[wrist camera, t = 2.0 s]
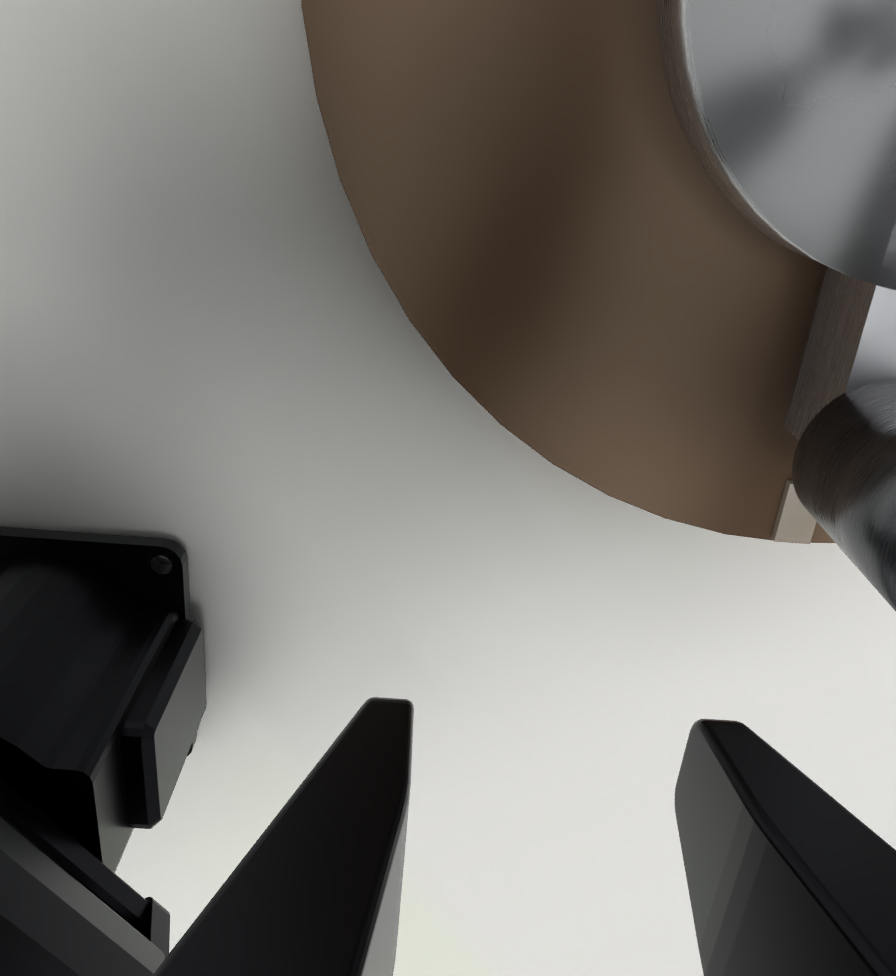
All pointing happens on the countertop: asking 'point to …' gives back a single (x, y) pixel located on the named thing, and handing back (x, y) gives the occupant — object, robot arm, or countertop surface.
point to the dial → (812, 221)
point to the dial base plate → (572, 247)
